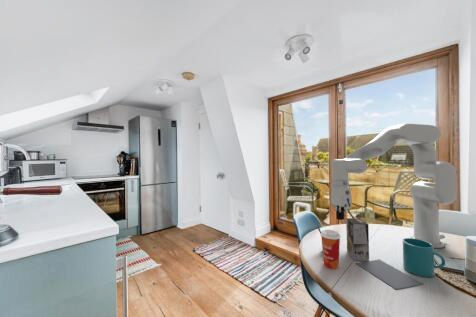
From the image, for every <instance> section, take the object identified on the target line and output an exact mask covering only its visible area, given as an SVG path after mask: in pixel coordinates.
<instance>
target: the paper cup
mask: <svg viewBox="0 0 476 317" xmlns="http://www.w3.org/2000/svg"><path fill="white" fill-rule="evenodd" d="M320 236H321V248H322V257H323V258H322V259H323V265H324V267H326V268H327V269H329V270H337V269H339V267H340V266H339V265H340V264H339V262H340V244H341V243H340V241H341V240H340V239H341V235H340V232H338V231H337V230H334V229H322V230H321V234H320Z"/></svg>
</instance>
